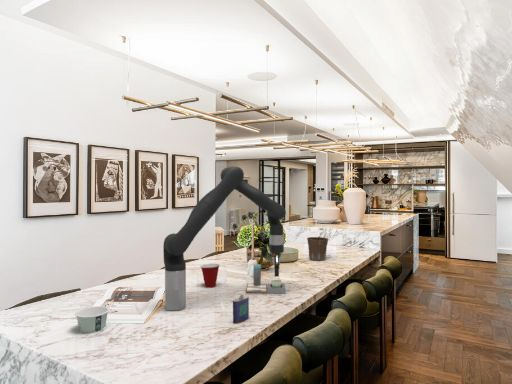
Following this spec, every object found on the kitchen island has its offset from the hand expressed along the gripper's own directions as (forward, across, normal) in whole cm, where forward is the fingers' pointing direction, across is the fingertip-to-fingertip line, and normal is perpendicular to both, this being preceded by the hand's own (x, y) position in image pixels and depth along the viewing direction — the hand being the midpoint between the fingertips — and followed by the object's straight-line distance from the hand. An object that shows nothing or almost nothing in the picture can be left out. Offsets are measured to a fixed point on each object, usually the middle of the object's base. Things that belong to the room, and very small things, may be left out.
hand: (276, 276), depth 190 cm
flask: (+8, -42, +16) cm, 46 cm away
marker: (+7, +9, +11) cm, 16 cm away
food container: (+8, -52, +73) cm, 90 cm away
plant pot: (+9, +87, -33) cm, 93 cm away
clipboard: (+8, +4, +11) cm, 14 cm away
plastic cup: (+8, +9, +37) cm, 39 cm away
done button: (+7, 0, 0) cm, 7 cm away
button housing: (+8, 0, 0) cm, 8 cm away
